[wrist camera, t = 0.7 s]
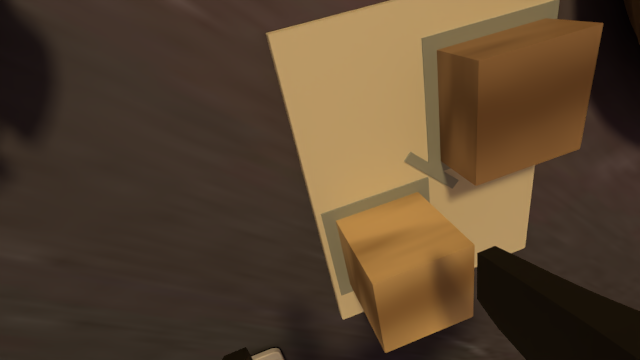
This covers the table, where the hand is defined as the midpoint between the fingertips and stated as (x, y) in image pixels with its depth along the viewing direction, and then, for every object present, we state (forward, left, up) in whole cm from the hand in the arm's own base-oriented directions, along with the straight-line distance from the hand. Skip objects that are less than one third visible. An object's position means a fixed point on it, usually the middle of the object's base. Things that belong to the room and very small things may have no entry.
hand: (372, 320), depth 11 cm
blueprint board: (-2, -7, -10) cm, 12 cm away
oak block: (-5, -4, -9) cm, 11 cm away
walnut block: (+2, -11, -9) cm, 14 cm away
